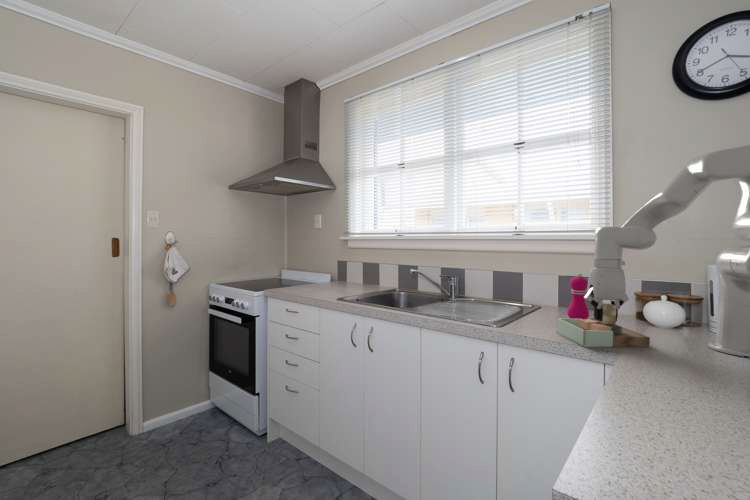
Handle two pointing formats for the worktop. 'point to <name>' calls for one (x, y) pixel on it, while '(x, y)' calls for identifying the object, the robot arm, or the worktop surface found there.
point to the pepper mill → (578, 298)
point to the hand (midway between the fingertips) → (605, 319)
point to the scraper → (610, 318)
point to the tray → (583, 334)
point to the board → (630, 339)
